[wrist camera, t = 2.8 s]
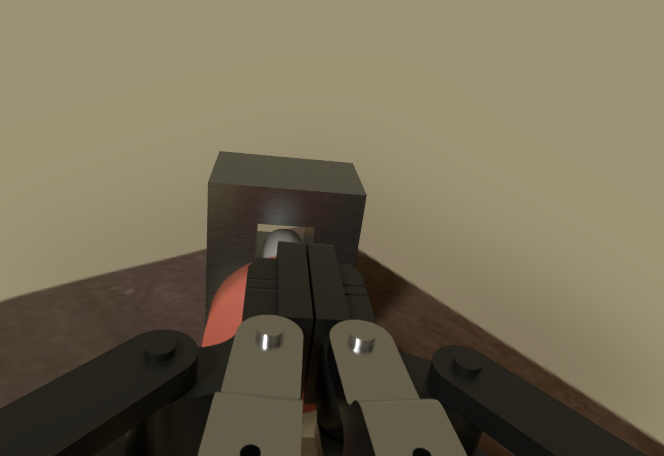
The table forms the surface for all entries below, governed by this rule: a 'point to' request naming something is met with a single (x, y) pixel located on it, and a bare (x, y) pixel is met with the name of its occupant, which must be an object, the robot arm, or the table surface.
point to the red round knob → (240, 298)
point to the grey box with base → (279, 218)
